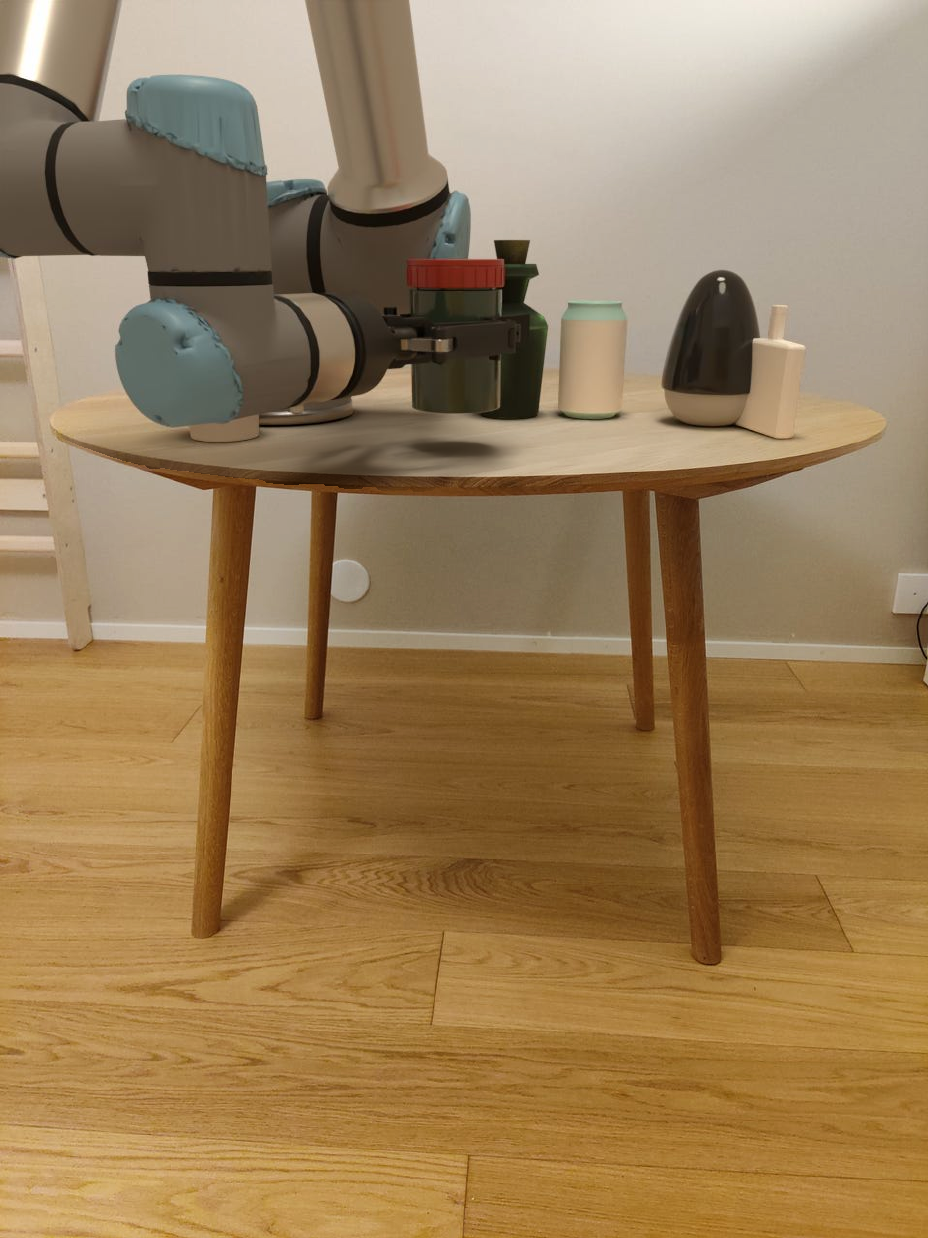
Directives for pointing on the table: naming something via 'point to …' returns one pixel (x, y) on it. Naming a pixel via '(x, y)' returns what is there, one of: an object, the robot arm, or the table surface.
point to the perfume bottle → (774, 381)
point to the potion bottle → (528, 361)
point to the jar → (458, 380)
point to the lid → (455, 273)
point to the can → (592, 359)
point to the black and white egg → (712, 352)
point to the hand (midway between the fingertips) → (484, 327)
